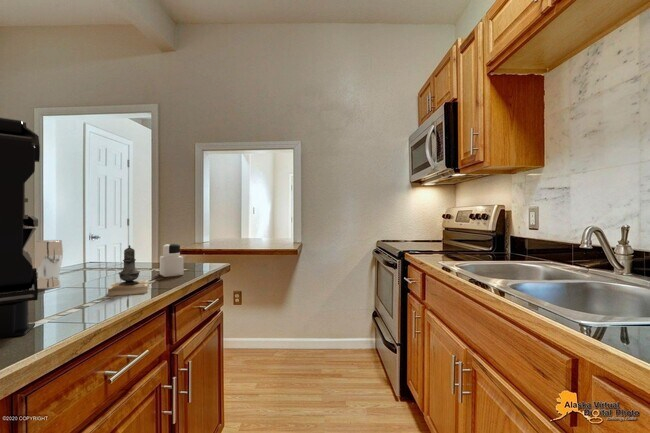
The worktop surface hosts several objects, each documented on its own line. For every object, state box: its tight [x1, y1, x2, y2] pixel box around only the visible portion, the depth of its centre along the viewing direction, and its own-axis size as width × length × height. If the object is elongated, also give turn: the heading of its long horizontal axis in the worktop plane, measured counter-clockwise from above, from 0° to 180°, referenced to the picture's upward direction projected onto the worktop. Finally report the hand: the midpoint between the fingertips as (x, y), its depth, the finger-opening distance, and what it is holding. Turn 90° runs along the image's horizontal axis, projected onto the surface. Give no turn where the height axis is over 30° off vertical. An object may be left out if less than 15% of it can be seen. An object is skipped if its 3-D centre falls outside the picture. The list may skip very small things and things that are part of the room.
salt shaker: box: [117, 244, 141, 286], centre depth 103 cm, size 6×6×12 cm
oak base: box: [107, 279, 150, 297], centre depth 103 cm, size 10×10×2 cm
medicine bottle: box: [159, 243, 185, 278], centre depth 131 cm, size 7×7×12 cm
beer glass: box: [34, 239, 64, 290], centre depth 107 cm, size 7×7×15 cm
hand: (9, 258), depth 80 cm, fingers open, 9 cm apart
